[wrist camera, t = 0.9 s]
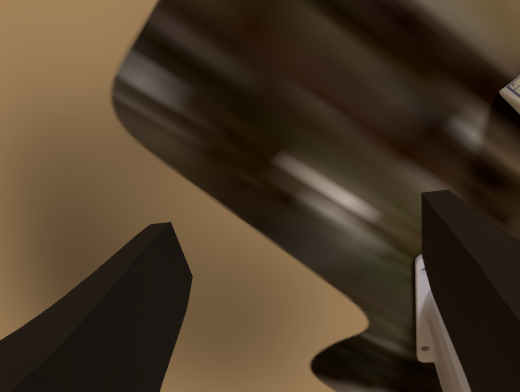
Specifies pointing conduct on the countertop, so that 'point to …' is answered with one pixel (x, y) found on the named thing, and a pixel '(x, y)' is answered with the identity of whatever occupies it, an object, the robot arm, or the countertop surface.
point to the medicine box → (512, 94)
